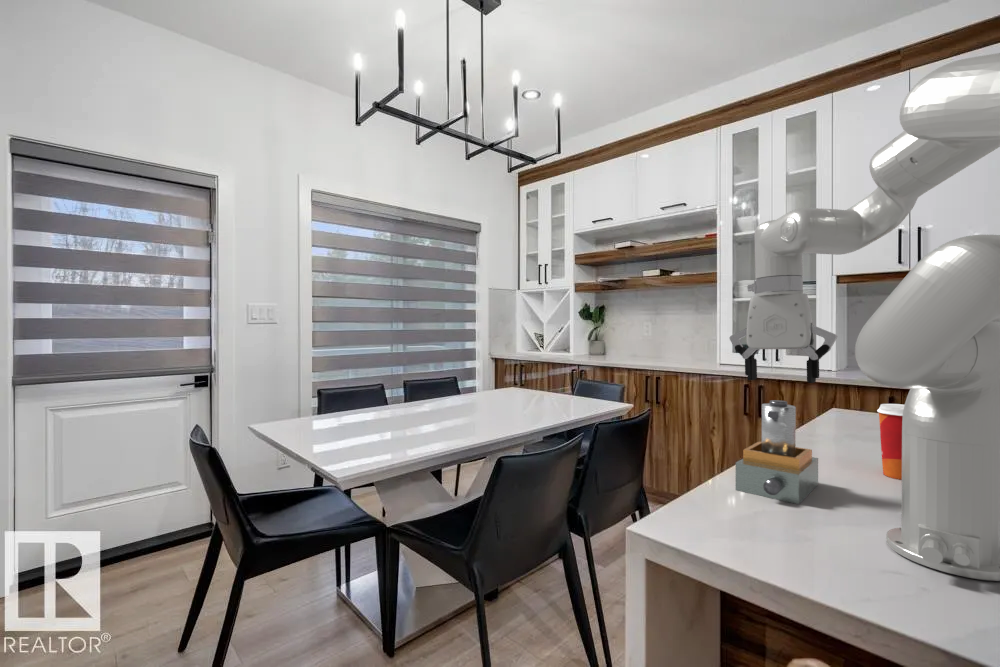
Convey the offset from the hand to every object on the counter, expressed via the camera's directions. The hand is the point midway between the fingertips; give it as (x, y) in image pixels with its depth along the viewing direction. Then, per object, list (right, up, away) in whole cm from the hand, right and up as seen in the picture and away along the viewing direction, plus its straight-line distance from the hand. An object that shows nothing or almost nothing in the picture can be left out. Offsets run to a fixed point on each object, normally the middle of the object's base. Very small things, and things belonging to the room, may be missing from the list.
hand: (780, 380), depth 87 cm
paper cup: (+28, -20, +7) cm, 35 cm away
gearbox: (-1, -20, 0) cm, 20 cm away
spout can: (0, -15, +1) cm, 15 cm away
